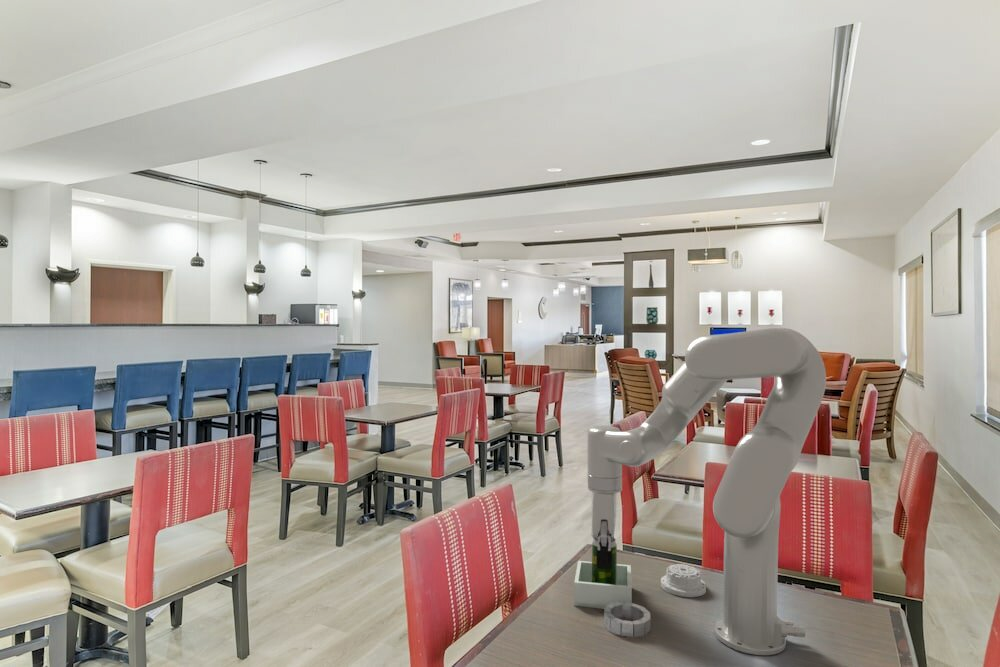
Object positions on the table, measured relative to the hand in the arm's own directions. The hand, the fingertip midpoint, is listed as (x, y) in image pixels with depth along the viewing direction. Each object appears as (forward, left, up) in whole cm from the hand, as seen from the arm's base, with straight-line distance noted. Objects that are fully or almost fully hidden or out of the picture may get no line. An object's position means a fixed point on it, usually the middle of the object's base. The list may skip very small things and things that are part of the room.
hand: (604, 559), depth 129 cm
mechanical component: (-18, -9, -9) cm, 21 cm away
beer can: (0, 0, -8) cm, 8 cm away
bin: (0, 0, -8) cm, 8 cm away
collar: (-5, +12, -8) cm, 15 cm away
